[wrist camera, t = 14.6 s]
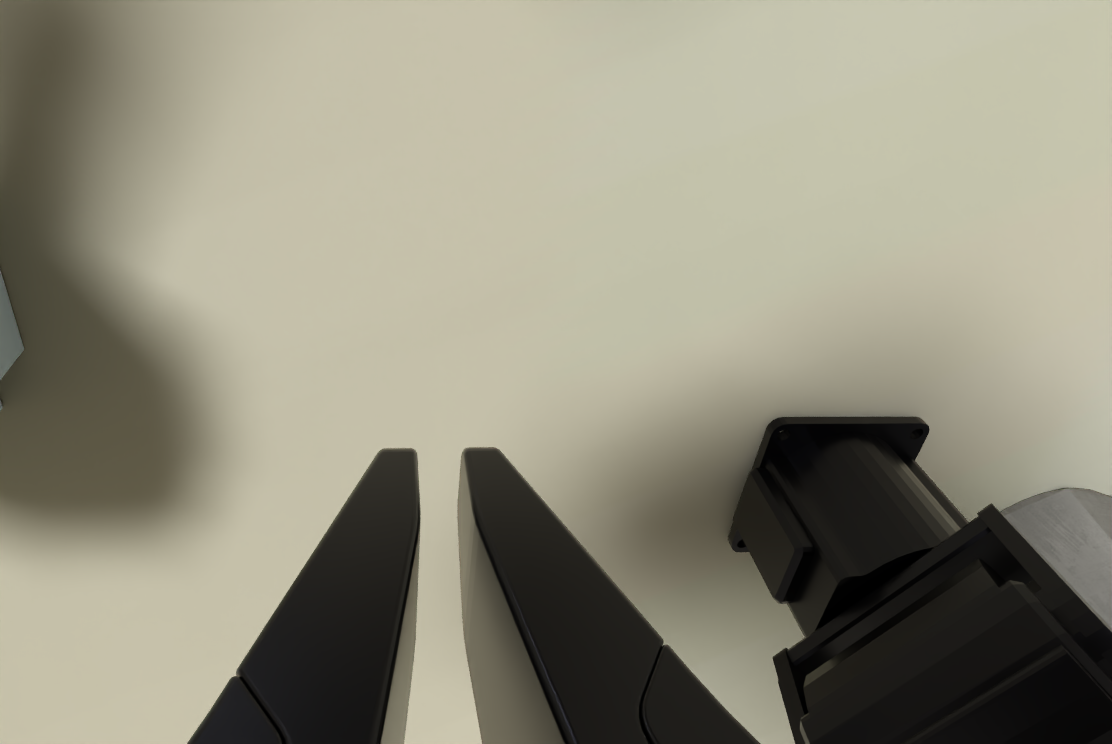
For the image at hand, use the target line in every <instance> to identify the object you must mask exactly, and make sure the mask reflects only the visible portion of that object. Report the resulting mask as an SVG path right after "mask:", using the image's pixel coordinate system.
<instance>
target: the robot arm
mask: <svg viewBox="0 0 1112 744" xmlns="http://www.w3.org/2000/svg"><path fill="white" fill-rule="evenodd" d="M782 430H784V431H783V432H781V433H779V432H780V431H782ZM928 433H929V426H928V425H927V424H926V423H925V422H924V421H923V420H922V419H921V418H919V417H781V418H777V419H775V420H773V421H772V422H771V423H770V424H769V425H768V427H767V428H766V431H765V434H764V437H763V440H762V442H761V445H760V448H759V451H758V454H757V456H756V459H755V462H754V465H753V468H752V470H751V472H750V473H749V475H748V478H747V480H746V483H745V486H744V489H743V492H742V495H741V497H740V500H739V503H738V506H737V509H736V512H735V514H734V517H733V524H732V527H731V530H730V533H729V536H728V541H729V543H730V545H731V547H732V549H733V550H734V551H735V552H750V554H751V556H752V558H753V560H754V562H755V564H756V566H757V568H758V570H759V572H760V573H761V575H762V577H763V579H764V581H765V583H766V585H767V587H768V589H769V591H770V593H771V595H772V597H773V598H774V599H775V600H776V601H777V602H778V603H780V604H784V603H787V604H788V606H789V608H790V610H791V612H792V614H793V616H794V618H795V619H796V621H797V623H798V625H799V627H800V629H801V631H802V633H803V634H804V636H805V638H804V639H803V640H801V641H800V642H798V643H797V644H795V645H794V646H793V647H791V648H790V649H787V648H785V649H783V650H782V651H780V652H779V653H778V654H776V655H775V656H773V661H774V665H775V668H776V672H777V676H778V679H779V680H778V683H779V687H780V690H781V694H782V698H783V701H784V705H785V708H786V712H787V716H788V719H789V723H790V726H791V730H792V733H793V737H794V741H795V744H1112V628H1111V627H1110V626H1109V625H1108V624H1107V623H1106V622H1105V621H1104V620H1103V619H1102V617H1101V616H1100V615H1099V614H1098V613H1097V612H1096V611H1095V610H1094V609H1093V608H1092V607H1091V606H1090V605H1089V604H1088V603H1087V602H1086V601H1085V599H1084V598H1083V597H1082V596H1081V595H1080V594H1079V593H1078V592H1077V591H1076V590H1075V589H1074V588H1073V587H1072V586H1071V585H1070V584H1069V583H1068V582H1067V580H1066V579H1065V578H1064V577H1063V576H1062V575H1061V574H1060V573H1059V572H1058V571H1057V570H1056V569H1055V568H1054V567H1053V566H1052V565H1051V564H1050V563H1049V562H1048V560H1047V559H1046V558H1045V557H1044V556H1043V555H1042V554H1041V553H1040V552H1039V551H1038V550H1037V549H1036V548H1035V547H1034V546H1033V545H1032V544H1031V543H1030V542H1029V541H1028V540H1027V539H1026V538H1025V537H1024V536H1023V535H1022V534H1021V533H1020V532H1019V531H1018V530H1017V529H1016V528H1015V527H1014V526H1013V525H1012V524H1011V523H1010V522H1009V521H1008V520H1007V519H1006V518H1005V517H1004V515H1003V514H1002V513H1001V512H1000V511H999V510H998V509H997V508H996V507H995V506H994V505H993V504H992V503H991V504H990V505H988V506H987V507H985V508H984V509H983V510H981V511H980V512H978V513H977V514H978V517H977V518H975V519H974V520H972V521H971V522H968V521H967V520H966V519H965V518H964V516H963V515H962V514H961V513H960V512H959V511H958V510H957V508H956V507H955V506H954V505H953V504H952V503H951V502H950V500H949V499H948V498H947V497H946V496H945V495H944V494H943V492H942V491H941V490H940V489H939V488H938V487H937V486H936V484H935V483H934V482H933V481H932V480H931V479H930V478H929V476H928V475H927V474H926V473H925V472H924V471H923V470H922V469H921V467H920V466H919V465H918V464H917V463H916V462H915V459H916V457H917V455H918V453H919V451H920V449H921V447H922V445H923V443H924V441H925V439H926V437H927V435H928ZM458 537H459V558H460V579H461V600H462V619H463V631H464V640H465V647H466V654H467V660H468V665H469V671H470V677H471V682H472V688H473V694H474V699H475V705H476V711H477V716H478V722H479V728H480V733H481V739H482V744H760V743H759V742H758V741H757V740H756V739H755V738H754V737H753V736H752V735H751V734H750V733H749V732H748V731H747V730H746V729H745V728H744V727H743V726H742V725H741V724H740V723H739V722H738V721H737V720H736V719H735V718H734V717H733V716H732V715H731V714H730V713H729V712H728V711H727V710H726V709H725V708H724V707H723V706H722V705H721V704H720V703H719V701H718V700H717V699H716V698H715V697H714V696H713V695H712V694H711V693H710V692H709V690H708V689H707V688H706V687H705V686H704V685H703V684H702V683H701V682H700V681H699V679H698V678H697V677H696V676H695V675H694V674H693V673H692V672H691V671H690V670H689V668H688V667H687V666H686V665H685V664H684V663H683V661H682V660H681V659H680V658H679V657H678V656H677V655H676V653H675V652H674V651H673V650H672V649H671V648H670V646H668V645H663V639H662V638H661V636H660V635H659V634H658V633H657V632H656V631H655V629H654V628H653V627H652V626H651V625H650V624H649V622H648V621H647V620H646V619H645V618H644V617H643V616H642V614H641V613H640V612H639V611H638V610H637V609H636V607H635V606H634V605H633V604H632V603H631V602H630V600H629V599H628V598H627V597H626V596H625V595H624V593H623V592H622V591H621V590H620V589H619V588H618V587H617V585H616V584H615V583H614V582H613V581H612V580H611V578H610V577H609V576H608V575H607V574H606V573H605V571H604V570H603V569H602V568H601V567H600V566H599V565H598V563H597V562H596V561H595V560H594V559H593V558H592V556H591V555H590V554H589V553H588V552H587V551H586V549H585V548H584V547H583V546H582V545H581V544H580V543H579V541H578V540H577V539H576V538H575V537H574V536H573V534H572V533H571V532H570V531H569V530H568V529H567V527H566V526H565V525H564V524H563V523H562V522H561V521H560V519H559V518H558V517H557V516H556V515H555V514H554V512H553V511H552V510H551V509H550V508H549V507H548V505H547V504H546V503H545V502H544V501H543V500H542V498H541V497H540V496H539V495H538V494H537V493H536V492H535V490H534V489H533V488H532V487H531V486H530V485H529V483H528V482H527V481H526V480H525V479H524V478H523V476H522V475H521V474H520V473H519V472H518V471H517V470H516V468H515V467H514V466H513V465H512V464H511V463H510V461H509V460H508V459H507V458H506V457H505V456H504V454H503V453H502V452H501V451H500V450H499V449H497V448H494V447H469V448H466V449H464V450H463V452H462V456H461V466H460V479H459V492H458ZM419 544H420V494H419V476H418V458H417V452H416V451H415V450H414V449H412V448H386V449H382V450H380V451H379V452H378V454H377V455H376V456H375V458H374V460H373V461H372V463H371V464H370V466H369V467H368V469H367V470H366V472H365V473H364V475H363V476H362V478H361V480H360V481H359V483H358V484H357V486H356V487H355V489H354V490H353V492H352V493H351V495H350V496H349V498H348V500H347V501H346V503H345V504H344V506H343V507H342V509H341V510H340V512H339V513H338V515H337V516H336V518H335V520H334V521H333V523H332V524H331V526H330V527H329V529H328V530H327V532H326V533H325V535H324V536H323V538H322V540H321V541H320V543H319V544H318V546H317V547H316V549H315V550H314V552H313V553H312V555H311V556H310V558H309V560H308V561H307V563H306V564H305V566H304V567H303V569H302V570H301V572H300V573H299V575H298V576H297V578H296V580H295V581H294V583H293V584H292V586H291V587H290V589H289V590H288V592H287V593H286V595H285V596H284V598H283V600H282V601H281V603H280V604H279V606H278V607H277V609H276V610H275V612H274V613H273V615H272V616H271V618H270V620H269V621H268V623H267V624H266V626H265V627H264V629H263V630H262V632H261V633H260V635H259V636H258V638H257V640H256V641H255V643H254V644H253V646H252V647H251V649H250V650H249V652H248V653H247V655H246V656H245V658H244V660H243V661H242V663H241V664H240V666H239V667H238V669H237V671H236V676H234V677H232V678H231V679H230V680H229V682H228V683H227V685H226V687H225V688H224V690H223V691H222V693H221V694H220V696H219V697H218V699H217V700H216V702H215V703H214V705H213V707H212V708H211V710H210V711H209V713H208V714H207V716H206V717H205V718H204V720H203V721H202V723H201V724H200V726H199V727H198V728H197V730H196V731H195V733H194V734H193V736H192V737H191V739H190V740H189V741H188V743H187V744H404V738H405V730H406V721H407V713H408V704H409V696H410V687H411V679H412V670H413V662H414V651H415V640H416V617H417V592H418V568H419Z"/></svg>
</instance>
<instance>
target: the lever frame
mask: <svg viewBox="0 0 1112 744" xmlns="http://www.w3.org/2000/svg"><path fill="white" fill-rule="evenodd" d="M23 350H24V346H23V343H22V340H21V337H20V333H19V330H18V327H17V323H16V320H15V317H14V313H13V310H12V307H11V303H10V300H9V297H8V293H7V290H6V287H5V283H4V280H3V277H2V273H1V270H0V380H1V379H2V377H3V376H4V375H5V374H6V372H7V371H8V370H9V368H10V367H11V366H12V365H13V363H14V362H15V361H16V359H17V358H18V357H19V356H20V354H21V353H22V352H23ZM2 408H3V406H2V403H1V400H0V411H1V410H2Z"/></svg>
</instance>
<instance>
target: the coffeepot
mask: <svg viewBox="0 0 1112 744" xmlns="http://www.w3.org/2000/svg"><path fill="white" fill-rule="evenodd" d="M1001 513H1002V514H1003V515H1004V517H1005V518H1006V519H1007V520H1008V521H1009V522H1010V523H1011V524H1012V525H1013V526H1014V527H1015V528H1016V529H1017V530H1018V531H1019V532H1020V533H1021V534H1022V535H1023V536H1024V537H1025V538H1026V539H1027V540H1028V541H1029V542H1030V543H1031V544H1032V545H1033V546H1034V547H1035V548H1036V549H1037V550H1038V551H1039V552H1040V553H1041V554H1042V555H1043V556H1044V557H1045V558H1046V559H1047V560H1048V562H1049V563H1050V564H1051V565H1052V566H1053V567H1054V568H1055V569H1056V570H1057V571H1058V572H1059V573H1060V574H1061V575H1062V576H1063V577H1064V578H1065V579H1066V580H1067V582H1068V583H1069V584H1070V585H1071V586H1072V587H1073V588H1074V589H1075V590H1076V591H1077V592H1078V593H1079V594H1080V595H1081V596H1082V597H1083V598H1084V599H1085V601H1086V602H1087V603H1088V604H1089V605H1090V606H1091V607H1092V608H1093V609H1094V610H1095V611H1096V612H1097V613H1098V614H1099V615H1100V616H1101V617H1102V619H1103V620H1104V621H1105V622H1106V623H1107V624H1108V625H1109V626H1110V627H1111V628H1112V497H1111V496H1108V495H1104V494H1101V493H1099V492H1096V491H1093V490H1090V489H1081V488H1070V489H1069V488H1066V489H1059V490H1055V491H1050V492H1046V493H1042V494H1039V495H1036V496H1033V497H1031V498H1028V499H1025V500H1023V501H1021V502H1019V503H1017V504H1015V505H1013V506H1011V507H1008V508H1006V509H1005V510H1003V511H1001Z"/></svg>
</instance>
